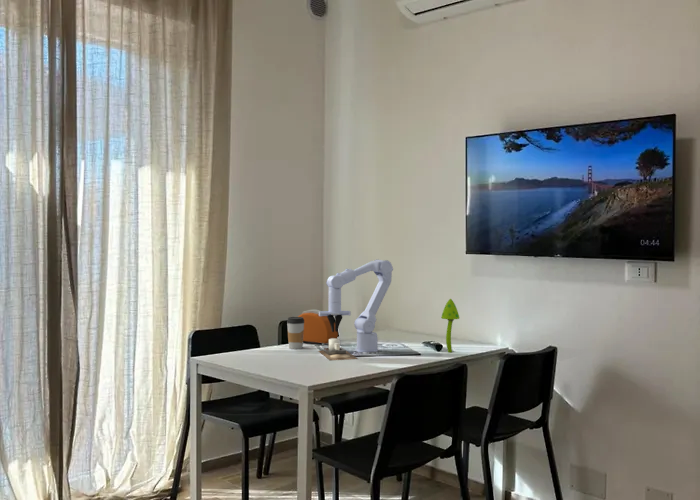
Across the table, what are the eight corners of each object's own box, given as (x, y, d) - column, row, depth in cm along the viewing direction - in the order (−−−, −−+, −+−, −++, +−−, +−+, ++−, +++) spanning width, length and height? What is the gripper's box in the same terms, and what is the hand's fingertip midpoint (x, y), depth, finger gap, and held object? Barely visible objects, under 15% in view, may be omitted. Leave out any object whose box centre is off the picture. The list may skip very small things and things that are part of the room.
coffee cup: (301, 351, 327) (301, 319, 326) (284, 350, 329) (284, 318, 328) (306, 347, 335) (306, 316, 335) (289, 347, 337) (289, 316, 336)
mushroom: (462, 352, 325) (463, 298, 324) (452, 354, 319) (453, 300, 318) (447, 349, 330) (448, 297, 329) (437, 352, 324) (437, 298, 323)
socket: (341, 350, 324) (341, 347, 324) (346, 353, 316) (346, 350, 316) (323, 351, 322) (323, 348, 322) (328, 354, 314) (328, 351, 314)
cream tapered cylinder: (327, 351, 322) (327, 338, 321) (337, 351, 323) (337, 338, 323) (332, 355, 313) (332, 341, 312) (343, 354, 314) (343, 341, 314)
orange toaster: (338, 343, 347) (338, 310, 347) (328, 346, 340) (328, 312, 339) (299, 339, 359) (299, 307, 359) (289, 342, 352) (289, 309, 351)
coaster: (347, 354, 315) (347, 353, 315) (352, 358, 307) (352, 357, 307) (328, 355, 313) (328, 354, 313) (332, 359, 304) (332, 358, 304)
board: (344, 350, 328) (344, 349, 328) (358, 360, 305) (358, 359, 305) (317, 352, 324) (317, 350, 324) (329, 361, 301) (329, 360, 301)
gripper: (347, 300, 324) (347, 329, 325) (317, 301, 320) (317, 330, 321) (351, 302, 317) (351, 331, 318) (320, 302, 314) (320, 333, 314)
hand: (334, 331), depth 319 cm, fingers closed
